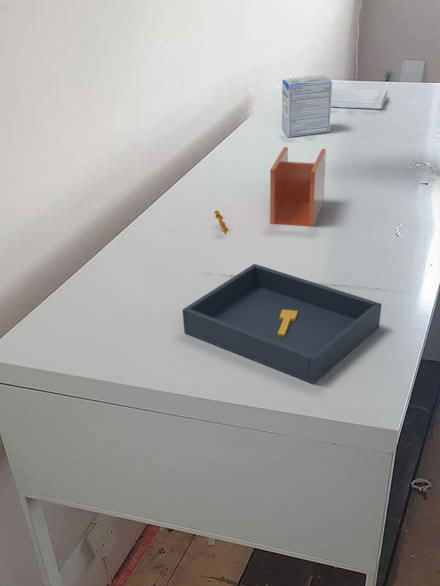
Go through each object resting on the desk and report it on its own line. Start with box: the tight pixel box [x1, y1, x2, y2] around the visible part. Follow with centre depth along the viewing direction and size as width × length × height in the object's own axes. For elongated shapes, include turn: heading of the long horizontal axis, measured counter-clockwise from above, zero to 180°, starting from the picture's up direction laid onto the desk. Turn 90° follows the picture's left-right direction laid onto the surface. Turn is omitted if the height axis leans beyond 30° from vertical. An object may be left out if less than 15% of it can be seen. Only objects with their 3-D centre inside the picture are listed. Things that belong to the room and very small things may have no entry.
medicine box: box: [281, 74, 333, 138], centre depth 128 cm, size 8×4×9 cm, turn 102°
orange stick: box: [213, 209, 229, 235], centre depth 101 cm, size 8×1×1 cm, turn 10°
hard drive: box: [331, 87, 389, 110], centre depth 143 cm, size 2×8×12 cm
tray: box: [182, 263, 382, 385], centre depth 79 cm, size 17×13×3 cm
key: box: [278, 310, 298, 337], centre depth 80 cm, size 5×2×1 cm, turn 165°
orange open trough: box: [269, 146, 327, 228], centre depth 100 cm, size 9×6×8 cm, turn 165°
